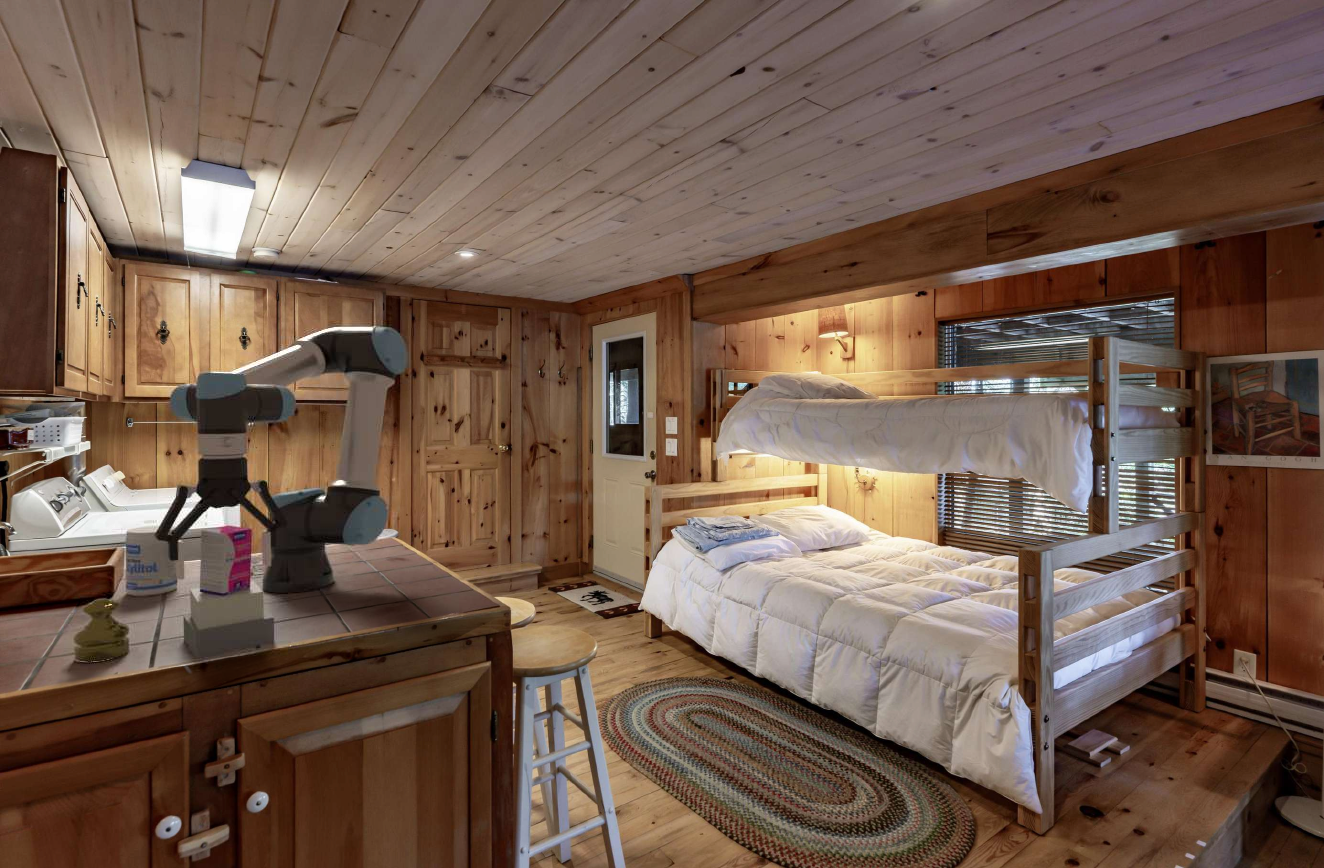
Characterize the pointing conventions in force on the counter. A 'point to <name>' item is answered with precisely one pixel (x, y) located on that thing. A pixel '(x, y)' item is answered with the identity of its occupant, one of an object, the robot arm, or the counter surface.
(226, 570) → the supplement box
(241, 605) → the tower top
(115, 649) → the olive coiled snake figurine
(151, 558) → the supplement tub
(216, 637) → the tower base
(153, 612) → the counter surface
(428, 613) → the counter surface
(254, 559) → the tangled rod sculpture
